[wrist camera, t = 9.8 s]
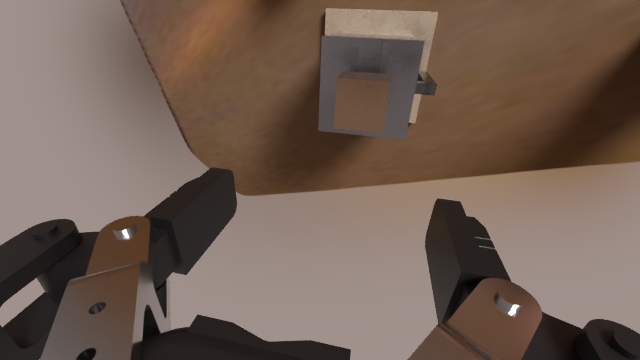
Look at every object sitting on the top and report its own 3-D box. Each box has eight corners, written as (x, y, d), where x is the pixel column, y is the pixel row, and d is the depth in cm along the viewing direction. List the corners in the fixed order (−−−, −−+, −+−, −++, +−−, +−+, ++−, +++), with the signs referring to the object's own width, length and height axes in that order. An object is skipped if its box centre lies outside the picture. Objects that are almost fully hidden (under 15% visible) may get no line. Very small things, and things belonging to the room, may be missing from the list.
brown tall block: (401, 46, 40) (411, 64, 22) (392, 97, 44) (396, 149, 26) (350, 43, 41) (321, 58, 23) (346, 93, 45) (318, 140, 27)
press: (436, 12, 41) (467, 4, 25) (414, 120, 48) (427, 167, 33) (327, 8, 43) (292, -1, 27) (323, 111, 51) (294, 151, 35)
